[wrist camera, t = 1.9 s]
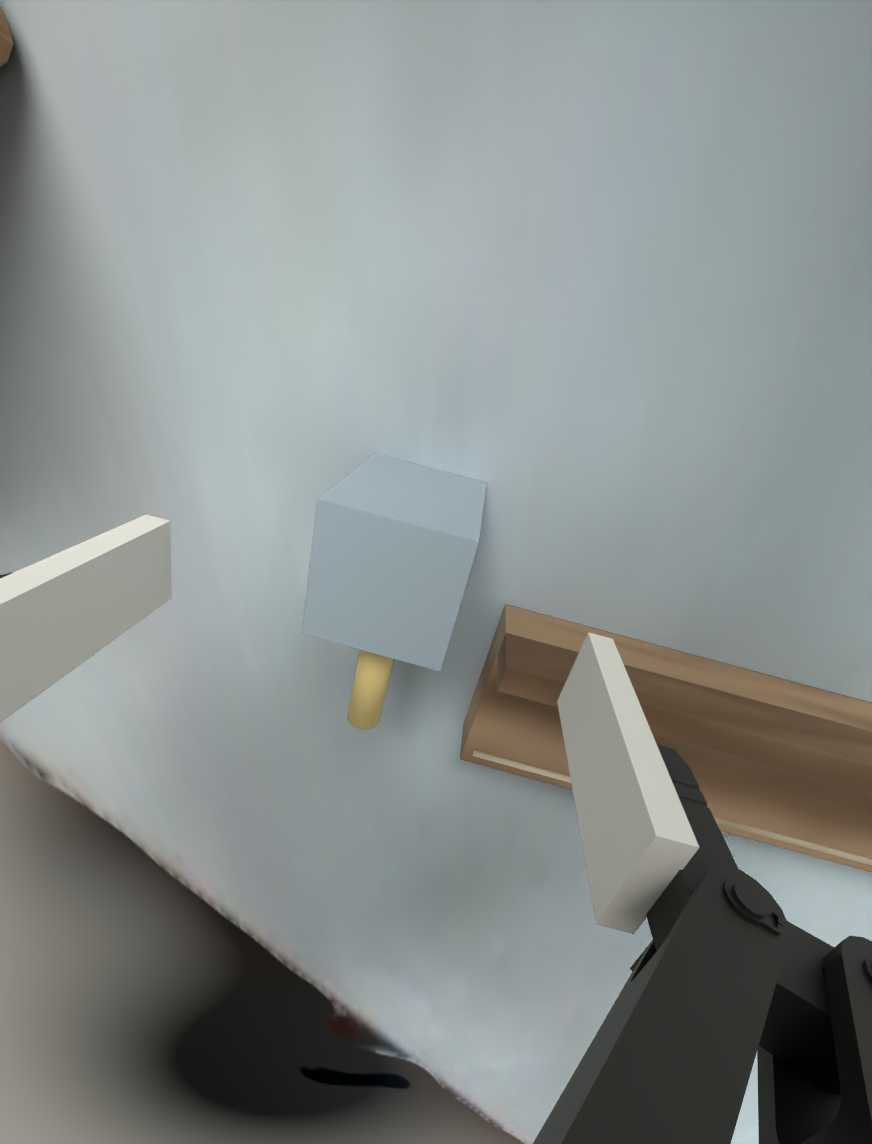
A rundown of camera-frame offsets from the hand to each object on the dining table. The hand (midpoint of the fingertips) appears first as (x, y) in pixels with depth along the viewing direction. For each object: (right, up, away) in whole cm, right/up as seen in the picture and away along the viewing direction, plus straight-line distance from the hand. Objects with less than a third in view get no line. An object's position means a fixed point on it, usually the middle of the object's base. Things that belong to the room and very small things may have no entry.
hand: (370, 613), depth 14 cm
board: (+18, -7, +10) cm, 22 cm away
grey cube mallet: (+1, +1, +8) cm, 8 cm away
